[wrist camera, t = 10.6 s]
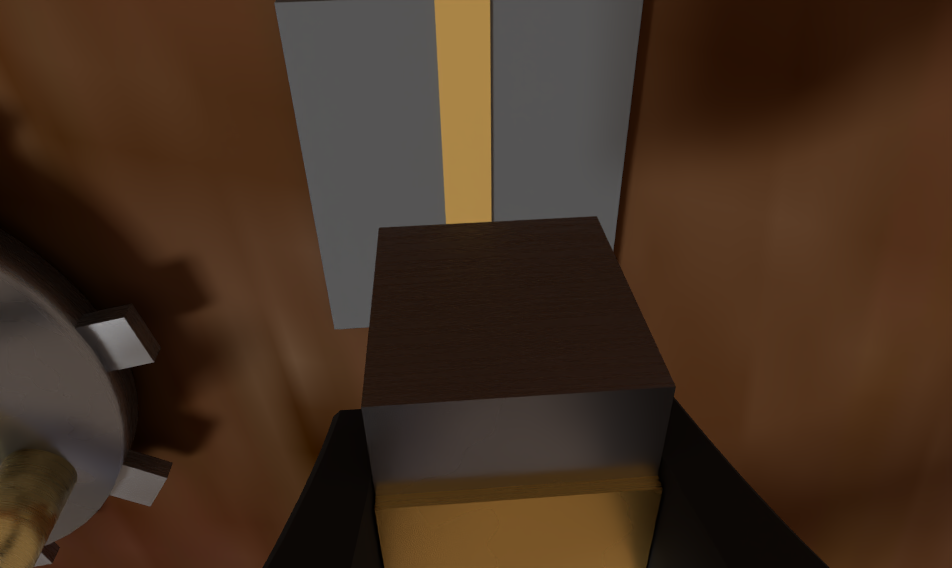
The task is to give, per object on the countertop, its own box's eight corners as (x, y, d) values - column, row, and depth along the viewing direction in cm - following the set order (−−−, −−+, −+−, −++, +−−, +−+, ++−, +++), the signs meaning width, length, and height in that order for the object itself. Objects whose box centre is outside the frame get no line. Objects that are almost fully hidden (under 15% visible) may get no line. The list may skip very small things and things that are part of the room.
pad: (603, 306, 20) (606, 314, 20) (335, 322, 20) (334, 331, 19) (640, -14, 15) (645, -11, 15) (276, -1, 14) (273, 3, 14)
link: (576, 432, 14) (631, 639, 10) (404, 445, 13) (399, 658, 10) (596, 216, 11) (681, 400, 7) (378, 227, 11) (360, 420, 7)
